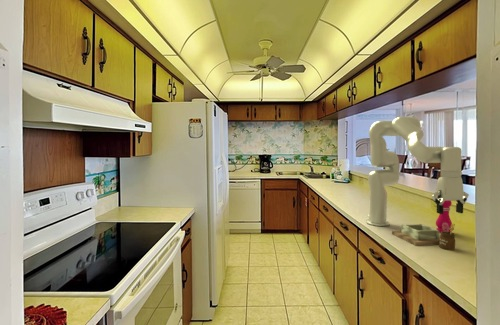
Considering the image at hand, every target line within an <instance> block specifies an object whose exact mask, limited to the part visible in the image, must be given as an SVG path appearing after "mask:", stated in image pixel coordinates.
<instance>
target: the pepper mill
mask: <svg viewBox="0 0 500 325" xmlns="http://www.w3.org/2000/svg"><path fill="white" fill-rule="evenodd" d="M442 205H443V214H439V213H438V214H439V215H438V217H437V218H436V221H435V225H436V227H437V228H436V230H439V234H441V232H442V231H444V230H445V231H448V232H451V230H450V227H451V224H452V225H453V223H452V220H451V218H450V211H451V206H452V201H444V203H443V204H442ZM443 223H444V224H443ZM442 225H443V226H442ZM448 226H449V227H448ZM451 228H452V227H451ZM443 229H444V230H443ZM448 229H449V230H448Z"/></svg>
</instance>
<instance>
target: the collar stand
mask: <svg viewBox="0 0 500 325" xmlns="http://www.w3.org/2000/svg"><path fill="white" fill-rule="evenodd" d="M391 235H393V236H395V237H396V238H400V240H403V241H405V242H407V243H409V244H411V245H413V246H432V245H439V240H440V236H441V235H440V233H439V230H437V228H433V227H430V226H429V225H428V226H427V225H425V224H422V223H419V224H401V230H392V231H391Z"/></svg>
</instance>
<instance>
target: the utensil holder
mask: <svg viewBox="0 0 500 325" xmlns="http://www.w3.org/2000/svg"><path fill="white" fill-rule="evenodd" d="M443 224H444V223H443ZM455 225H456V224H455V223H452V224H451V227H450V230H451V232H448V231H445V230H444V229H443V230H444V231H442V232H441V233H440V235H439V236H440V240H439V244H438V245H439V248H441V249H443V250H447V251H453V250H455V249H456V238H455V236H456V235H455V232H453V231H454V229H455V227H456V226H455ZM442 226H443V225H442ZM448 227H449V226H448ZM448 230H449V229H448Z"/></svg>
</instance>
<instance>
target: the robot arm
mask: <svg viewBox="0 0 500 325" xmlns="http://www.w3.org/2000/svg"><path fill="white" fill-rule="evenodd" d="M399 136H400V137H401V138H402V139H403V140H404V141H406V142H407V148H408V151H409V153H410V154H411V155H412V156H413V157H414V158H415V159H416V160H418V161H419V162H421V163H423V164H439V163H440V177H438V179H437V183H436V190H435V192H434V193H432V194H431V198H432V201H433V202H434V204H436V214H443V205H442V204H443V203H444V201H451V202H452V201H454V202H456V205H455V211H456V213H458V214H463V213H464V205H465V204H466V202H467V200H468V197H469V196H470V195H469V193H467V192H465V191H464V183H463V182H464V181H463V178H462V175H463V172H462V148H461V147H459V146H426V145H425V144H424V143H422V141H421V140H422V139H423V137H424V132H423V130H422V129H421V121H420V120H419V119H418V118H417V117H415V116H398V117H396V118H394V119H393V120H377V121H375V122H373V123H372V124H371V126H370V128H369V130H368V137H369V141H370V164H371V166H372V167H373V168H380V169H375V170H371V171H370V172H369V174H368V176H367V181H368V187H369V190H368V191H369V196H368V197H369V198H368V199H369V200H368V201H369V202H368V204H369V205H368V214H367V217H368V219H366V220H365V223H366V224H368V225H370V226H375V227H387V226H390V221H388V220H387V218H388V216H387V215H388V214H387V212H388V211H387V210H388V193H387V189H386V188H385V187H391V186H395V185H396V184H398V183H399V182H398V181H399V177H400V176H399V175H400V160H399V156H398V155H397V153H396V152H394V151H390V150H387V142H386V140H385V139H384V137H399ZM381 168H384V169H381Z"/></svg>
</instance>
